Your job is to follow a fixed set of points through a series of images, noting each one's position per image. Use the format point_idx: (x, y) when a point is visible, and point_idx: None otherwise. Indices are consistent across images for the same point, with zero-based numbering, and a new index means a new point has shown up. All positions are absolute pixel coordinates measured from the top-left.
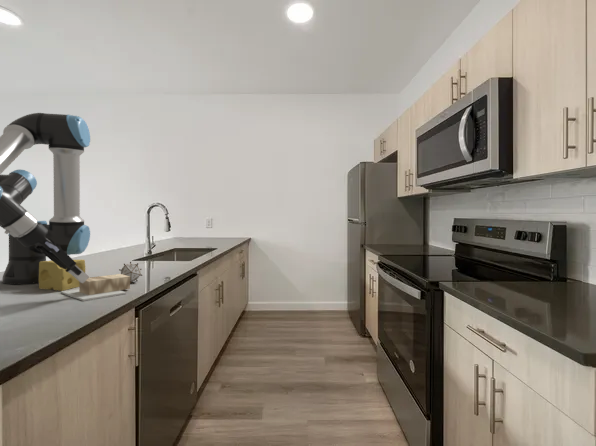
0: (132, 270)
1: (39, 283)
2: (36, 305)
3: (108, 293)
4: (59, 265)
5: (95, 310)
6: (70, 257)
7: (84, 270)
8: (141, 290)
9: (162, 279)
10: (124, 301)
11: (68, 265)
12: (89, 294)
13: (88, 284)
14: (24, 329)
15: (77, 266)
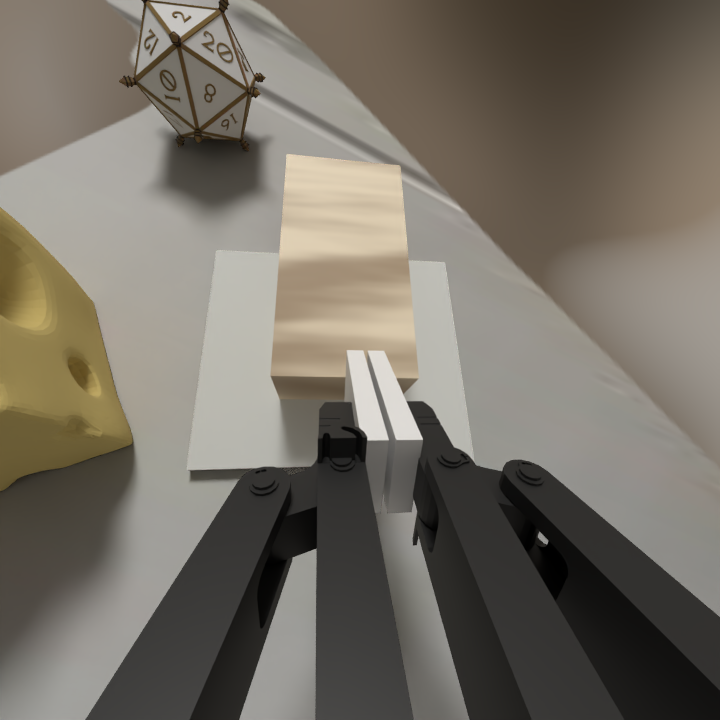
0: (244, 73)
1: None
2: (414, 707)
3: (422, 322)
4: (286, 575)
5: (668, 496)
6: (669, 575)
7: (24, 232)
8: (415, 199)
9: (266, 46)
10: (570, 339)
11: (564, 569)
12: None
13: (403, 384)
14: None
15: (412, 417)
